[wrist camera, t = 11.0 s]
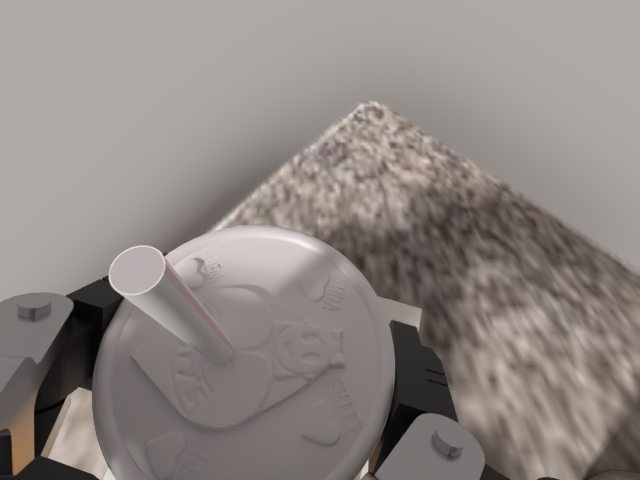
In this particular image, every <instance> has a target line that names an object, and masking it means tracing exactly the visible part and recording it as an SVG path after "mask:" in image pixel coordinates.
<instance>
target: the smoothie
mask: <svg viewBox="0 0 640 480" xmlns="http://www.w3.org/2000/svg"><path fill="white" fill-rule="evenodd" d="M109 282H110V284H111V286H112V287H113V289H114V290H116V291H117V292H118V293H119V294H121V295H122V296H123V297H125V298H124V299H123V300H122V302H121V303H120V305H119V307H118V309H117V310H116V312H115V314H114V316H113V318H112V320H111V321H110V323H109V325H108V327H107V329H106V331H105V333H104V336H103V338H102V341H101V344H100V347H99V351H98V354H97V358H96V363H95V368H94V373H93V384H92V410H93V419H94V425H95V430H96V434H97V439H98V442H99V445H100V448H101V451H102V454H103V456H104V458H105V460H106V462H107V464H108V467H109V469H110V470H111V472H112V474H113V475H114V477H115V478H116V480H354V479H355V478H356V476H357V475H358V474H359V472H360V471H361V470H362V469H363V467H364V466H365V464H366V462H367V461H368V459H369V458H370V456H371V455H372V453H373V451H374V449H375V447H376V445H377V443H378V441H379V439H380V437H381V434H382V432H383V429H384V427H385V424H386V421H387V418H388V414H389V411H390V407H391V403H392V397H393V392H394V382H395V355H394V345H393V340H392V335H391V330H390V327H389V323H388V320H387V317H386V314H385V312H384V309H383V307H382V304H381V302H380V301H379V299H378V297H377V295H376V293H375V291H374V290H373V288H372V287H371V285H370V283H369V282H368V281H367V279H366V278H365V277H364V275H363V274H362V273H361V272H360V271H359V270H358V268H357V267H356V266H355V265H354V264H353V263H352V262H351V261H350V260H348V259H347V258H346V257H345V256H344V255H343V254H341V253H340V252H339V251H337V250H336V249H335V248H333V247H331V246H330V245H328V244H326V243H325V242H323V241H321V240H319V239H317V238H315V237H313V236H310V235H308V234H305V233H303V232H299V231H296V230H292V229H288V228H283V227H278V226H268V225H247V226H237V227H231V228H226V229H222V230H217V231H214V232H211V233H208V234H205V235H203V236H200V237H198V238H195V239H193V240H191V241H189V242H187V243H185V244H183V245H181V246H180V247H178V248H177V249H175V250H173V251H171V252H170V253H168V254H167V255H166V256H163V255H162V253H161V252H160V251H158V250H157V249H156V248H154V247H150V246H144V245H141V246H135V247H132V248H129V249H127V250H125V251H124V252H122V253H121V254H120V255H118V256H117V257H116V259H115V260H114V261H113V263H112V264H111V267H110V269H109Z"/></svg>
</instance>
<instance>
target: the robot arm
mask: <svg viewBox="0 0 640 480" xmlns="http://www.w3.org/2000/svg"><path fill="white" fill-rule="evenodd" d="M167 254H168V253H164V254H162V255H163V256H166V255H167ZM124 298H125V297H123V296H122V295H121V294H119V293H118V292H117V291H116V290H114V289H113V287H112V286H111V284H110V282H109V275H108V276H106V277H104V278H102V280H100V279H99V280H97V281H96V282H93V283H91V284H89V285H87V286H85V287H83V288H81V289H79V290H77V291H75V292H72V293H70V294H68V295H66V296H63V295H59V294H54V293H29V294H23V295H19V296H15V297H12V298H9V299H6V300H4V301H2V302H0V480H99V479H98V478H97V477H95V476H94V475H92V474H90V473H87V472H84V471H81V470H79V469H76V468H73V467H71V466H68V465H65V464H62V463H60V462H57V461H54V460H51V459H49V458H48V456H49V454H50V451H51V449H52V447H53V444H54V442H55V440H56V437H57V435H58V433H59V430H60V428H61V426H62V423H63V421H64V418H65V416H66V414H67V411H68V409H69V407H70V403H71V393H72V392H73V391H74V390H76V389H77V388H78V387H81V388H84V389H87V390H90V391H92V384H93V373H94V368H95V363H96V358H97V354H98V351H99V347H100V344H101V341H102V338H103V336H104V333H105V331H106V329H107V327H108V325H109V323H110V321H111V320H112V318H113V316H114V314H115V312H116V310H117V309H118V307H119V305H120V303H121V302H122V300H123V299H124ZM389 327H390V330H391V335H392V340H393V345H394V355H395V382H394V392H393V397H392V403H391V407H390V411H389V414H388V418H387V421H386V424H385V427H384V429H383V432H382V434H381V437H380V439H379V441H378V443H377V445H376V447H375V449H374V451H373V453H372V455H371V456H370V458H369V460H368V472H367V473H366V474H365V475H364V476H363V477H362V478H361V479H360V480H510V479H509V478H507V477H505V476H503V475H502V474H500V473H498V472H497V471H495V470H494V469H492V468H491V467H490V466H488V465H487V464H486V463H485V456H484V453H483V450H482V448H481V446H480V444H479V443H478V441H477V440H476V439H475V438H474V436H473V435H472V434H471V433H470V432H469V431H468V430H467V429H465V428H464V427H463V426H461V425H460V424H459V423H458V419H457V416H456V412H455V409H454V405H453V401H452V398H451V394H450V391H449V388H448V383H447V380H446V377H445V373H444V369H443V365H442V362H441V360H440V359H439V358H438V357H437V355H436V354H435V353H434V352H433V350H432V349H431V348H428V347H424V346H421V345H420V340H419V335H418V330H417V327H415V326H412V325H409V324H405V323H402V322H399V321H395V320H391V321H390V323H389ZM537 480H558V479H555V478H550V477H543V478H539V479H537ZM589 480H640V473H633V472H624V471H614V470H613V471H607V472H602V473H599V474H597V475H595V476H593V477H591V478H590V479H589Z"/></svg>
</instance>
